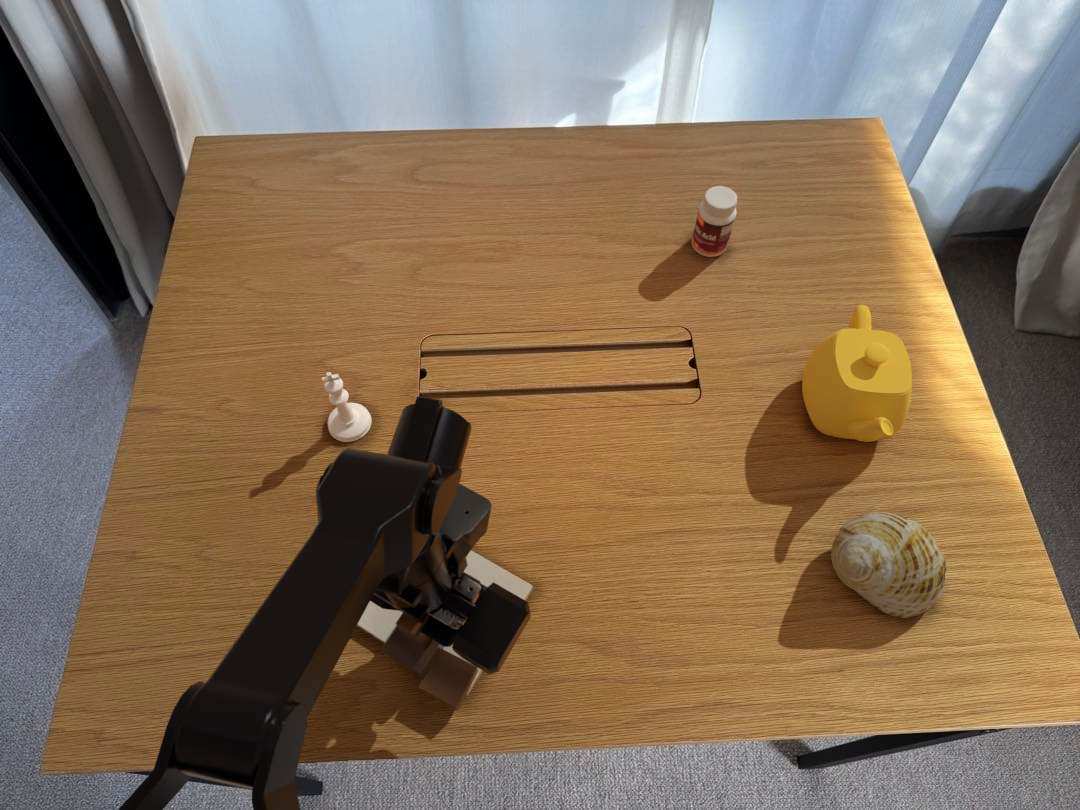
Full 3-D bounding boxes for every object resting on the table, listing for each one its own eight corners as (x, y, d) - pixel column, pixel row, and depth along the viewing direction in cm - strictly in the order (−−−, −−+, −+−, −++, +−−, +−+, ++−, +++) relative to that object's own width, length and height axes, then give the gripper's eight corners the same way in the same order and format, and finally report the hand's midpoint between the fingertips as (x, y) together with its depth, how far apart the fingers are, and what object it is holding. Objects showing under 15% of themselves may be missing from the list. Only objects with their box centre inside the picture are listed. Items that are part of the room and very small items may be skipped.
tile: (467, 696, 72) (466, 694, 71) (316, 600, 77) (314, 597, 76) (533, 589, 77) (533, 585, 76) (388, 505, 82) (387, 501, 81)
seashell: (964, 599, 75) (968, 586, 67) (869, 634, 78) (860, 627, 70) (911, 506, 80) (909, 483, 72) (823, 542, 83) (810, 525, 74)
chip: (457, 711, 70) (456, 708, 69) (420, 691, 71) (417, 687, 70) (478, 670, 72) (477, 666, 71) (441, 651, 73) (439, 647, 72)
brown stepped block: (424, 682, 71) (413, 663, 65) (386, 657, 73) (372, 637, 67) (482, 591, 76) (477, 566, 70) (445, 569, 77) (437, 543, 71)
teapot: (905, 486, 83) (949, 437, 74) (801, 477, 83) (832, 426, 74) (884, 352, 92) (920, 293, 83) (791, 344, 93) (817, 285, 84)
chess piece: (325, 411, 88) (301, 361, 80) (367, 400, 89) (348, 349, 81) (331, 447, 86) (308, 399, 77) (375, 435, 87) (356, 386, 78)
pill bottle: (683, 244, 102) (693, 196, 95) (707, 226, 104) (719, 178, 96) (710, 263, 100) (723, 216, 93) (734, 245, 102) (748, 197, 95)
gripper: (565, 525, 59) (561, 590, 73) (372, 421, 65) (401, 499, 78) (488, 651, 54) (499, 697, 68) (285, 527, 59) (332, 592, 73)
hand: (431, 614), depth 72 cm, fingers closed on brown stepped block, 2 cm apart
